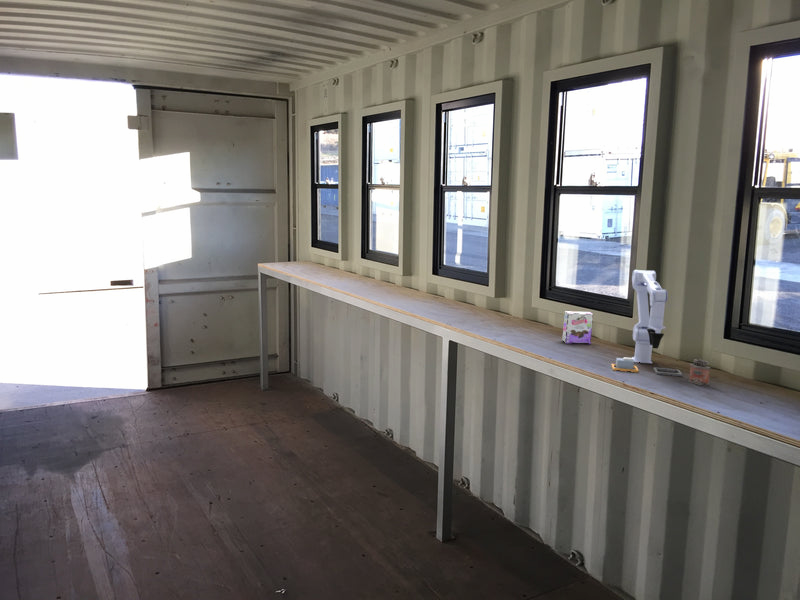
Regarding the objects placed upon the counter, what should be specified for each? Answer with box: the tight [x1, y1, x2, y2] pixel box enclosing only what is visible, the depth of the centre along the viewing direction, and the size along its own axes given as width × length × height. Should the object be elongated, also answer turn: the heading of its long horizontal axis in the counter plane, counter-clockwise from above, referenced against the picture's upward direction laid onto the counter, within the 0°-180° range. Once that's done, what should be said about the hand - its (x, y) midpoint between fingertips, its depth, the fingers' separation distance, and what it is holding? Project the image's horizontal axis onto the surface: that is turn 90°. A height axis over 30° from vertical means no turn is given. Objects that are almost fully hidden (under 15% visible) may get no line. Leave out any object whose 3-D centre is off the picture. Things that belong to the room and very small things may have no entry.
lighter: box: [688, 358, 711, 386], centre depth 266 cm, size 8×3×10 cm, turn 40°
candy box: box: [561, 310, 594, 345], centre depth 337 cm, size 14×6×16 cm, turn 92°
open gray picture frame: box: [652, 367, 683, 377], centre depth 281 cm, size 8×11×1 cm
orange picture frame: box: [610, 363, 639, 373], centre depth 285 cm, size 8×11×1 cm
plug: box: [615, 356, 635, 369], centre depth 285 cm, size 4×7×5 cm, turn 77°
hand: (653, 346), depth 286 cm, fingers open, 7 cm apart
